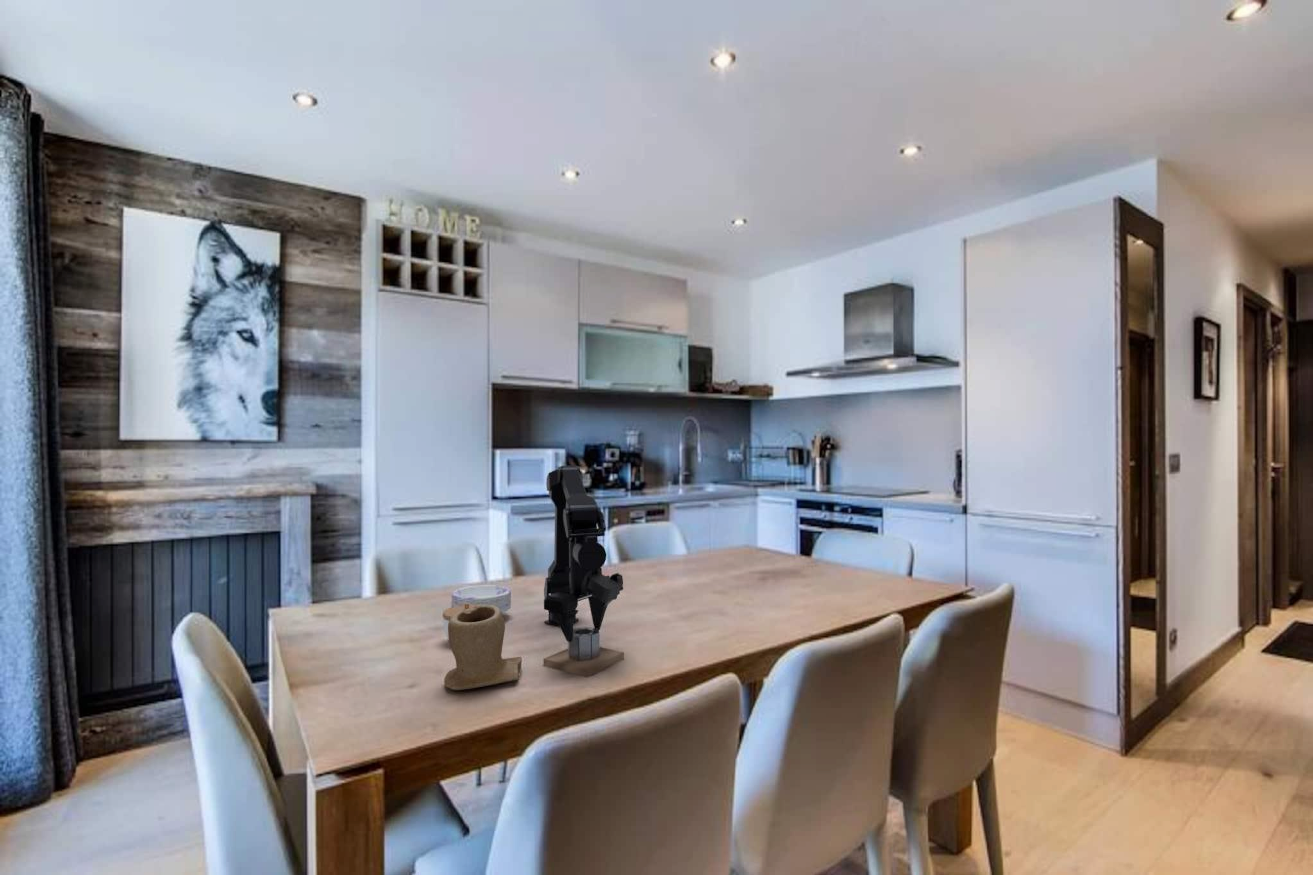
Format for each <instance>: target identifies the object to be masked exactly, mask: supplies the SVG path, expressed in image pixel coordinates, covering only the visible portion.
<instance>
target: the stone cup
mask: <svg viewBox="0 0 1313 875" xmlns="http://www.w3.org/2000/svg"><path fill="white" fill-rule="evenodd" d="M504 618H505V617H504V614H502V612H501V610H500V609H499V608H498V607H496V606H493V605H477V606H474V607H472V608H470V609H463V610H460V611H458V612H457V613H455V614H454V615H453V616H452V617H451V618H450V620H449V623H448V635H449V639H448V643H449V647H450V650H451V651H452V655H453V656H454V657H453V658H454V659H455V663H456V664H455V665H456V667H455V668H452V669H451V670H449V671H448V672H447V673H446V674H445V676H444V681H443V682H444V685H445V687H447V688H448V689H450V690H453V691H461V690H470V689H471V690H472V689H476V688H482V687H488V686H493V685H498V684H503V683H508V682H513V681H517V680H518V679H519V677H520V674H521V671H522V661H523V660H522V659H523V658H522V656H516V657H507V658H503V657H502V653H503V652H502V650H503V643H504V639H505V631H506V623H505V622H506V621H505V619H504Z"/></svg>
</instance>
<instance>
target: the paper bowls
mask: <svg viewBox="0 0 1313 875" xmlns="http://www.w3.org/2000/svg"><path fill="white" fill-rule="evenodd" d="M450 603H451V608H452V607H456V606H461V605H465V603H469V605H473V604H475V605H493V606H496V607H498V608H499V609H500V610H501V612H502V614H503V615H504V613H506V612H507V611H509V610H511V606H512V590H511V588H509V587H507V586H505V585H504V586H503V585H493V584H483V585H481V584H480V585H471V586H464V587H461V588H457V589H455V590H453V591H452V592H451V602H450Z"/></svg>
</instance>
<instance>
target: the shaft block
mask: <svg viewBox="0 0 1313 875" xmlns="http://www.w3.org/2000/svg"><path fill="white" fill-rule="evenodd" d="M599 649H600V656H599V657H597V658H595V659H592V660H584V661H577V660H573V659H570V658H569V656H568V648H565V649H562V650H561V651H558V652H556V653H554V654H551V655H549V656H547V657H545V658H543V667H545V668H549V669H553V670H559V671H562V672H566V673H571V674H575V675H579V676H582V677H585V678H586V677H587V678H590V677H592V676H593V675H595V674H597V673H599V672H601V671H603V670H605V669H607V668H609V667H611V666H613V665H615V664H617V663H619V662H621V661H623V660H624V659H625V653H624V651H621V650H615V649H611V648H606V647H601V646H599Z"/></svg>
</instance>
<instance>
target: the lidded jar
mask: <svg viewBox="0 0 1313 875" xmlns="http://www.w3.org/2000/svg"><path fill="white" fill-rule="evenodd" d="M474 606H477V605H475V604H473V605H469V603H465V605H461V606H456V607H452V606H451V607H449V608H446V609H445V610H444V611H442V619H443V621H442V622H443V630H444V633H445V636H446V638H447V640H449V635H448V623H449V620H450V618H451V617H452V616H453V615H454V614H455V613H457V612H458V611H460V610H463V609H470V608H472V607H474Z"/></svg>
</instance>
